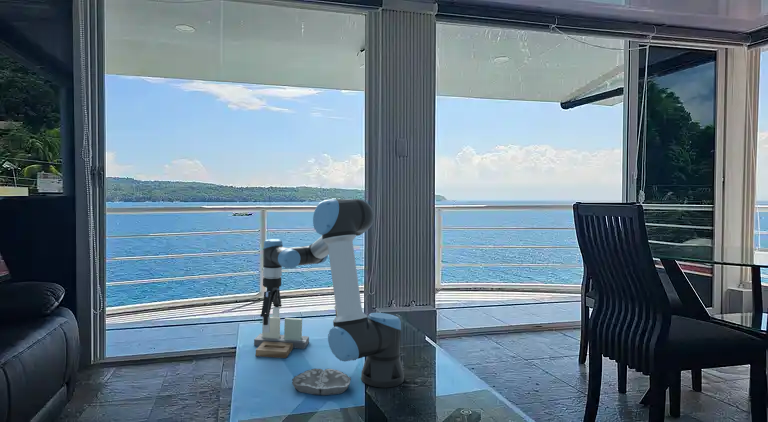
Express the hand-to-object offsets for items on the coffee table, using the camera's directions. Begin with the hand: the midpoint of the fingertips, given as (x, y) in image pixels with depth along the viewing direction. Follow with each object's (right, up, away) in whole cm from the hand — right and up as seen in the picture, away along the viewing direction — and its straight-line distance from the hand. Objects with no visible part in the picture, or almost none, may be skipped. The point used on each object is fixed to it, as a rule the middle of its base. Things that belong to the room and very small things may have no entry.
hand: (271, 327), depth 217 cm
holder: (+4, -8, -10) cm, 13 cm away
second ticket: (+9, -7, 0) cm, 12 cm away
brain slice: (+26, -12, -39) cm, 49 cm away
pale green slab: (0, -7, +1) cm, 7 cm away
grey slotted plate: (+4, -7, 0) cm, 8 cm away
